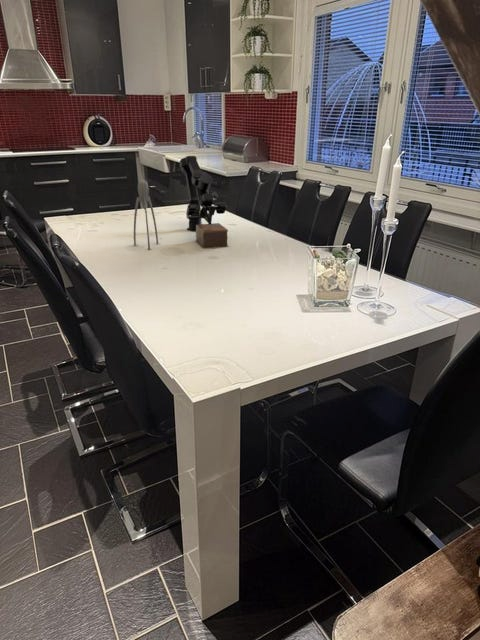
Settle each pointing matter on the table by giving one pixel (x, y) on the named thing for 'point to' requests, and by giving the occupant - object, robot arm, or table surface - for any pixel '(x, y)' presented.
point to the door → (211, 228)
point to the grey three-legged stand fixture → (143, 199)
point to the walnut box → (211, 239)
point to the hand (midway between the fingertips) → (210, 224)
